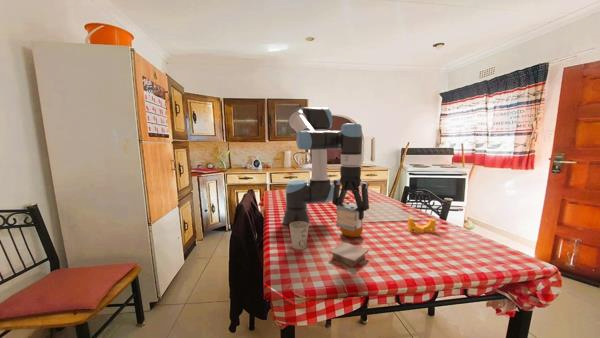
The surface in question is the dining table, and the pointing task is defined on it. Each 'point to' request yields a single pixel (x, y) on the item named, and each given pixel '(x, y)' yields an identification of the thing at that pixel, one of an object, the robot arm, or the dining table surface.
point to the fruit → (352, 232)
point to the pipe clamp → (421, 229)
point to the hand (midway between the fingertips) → (349, 225)
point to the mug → (299, 234)
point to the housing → (347, 216)
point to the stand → (348, 253)
